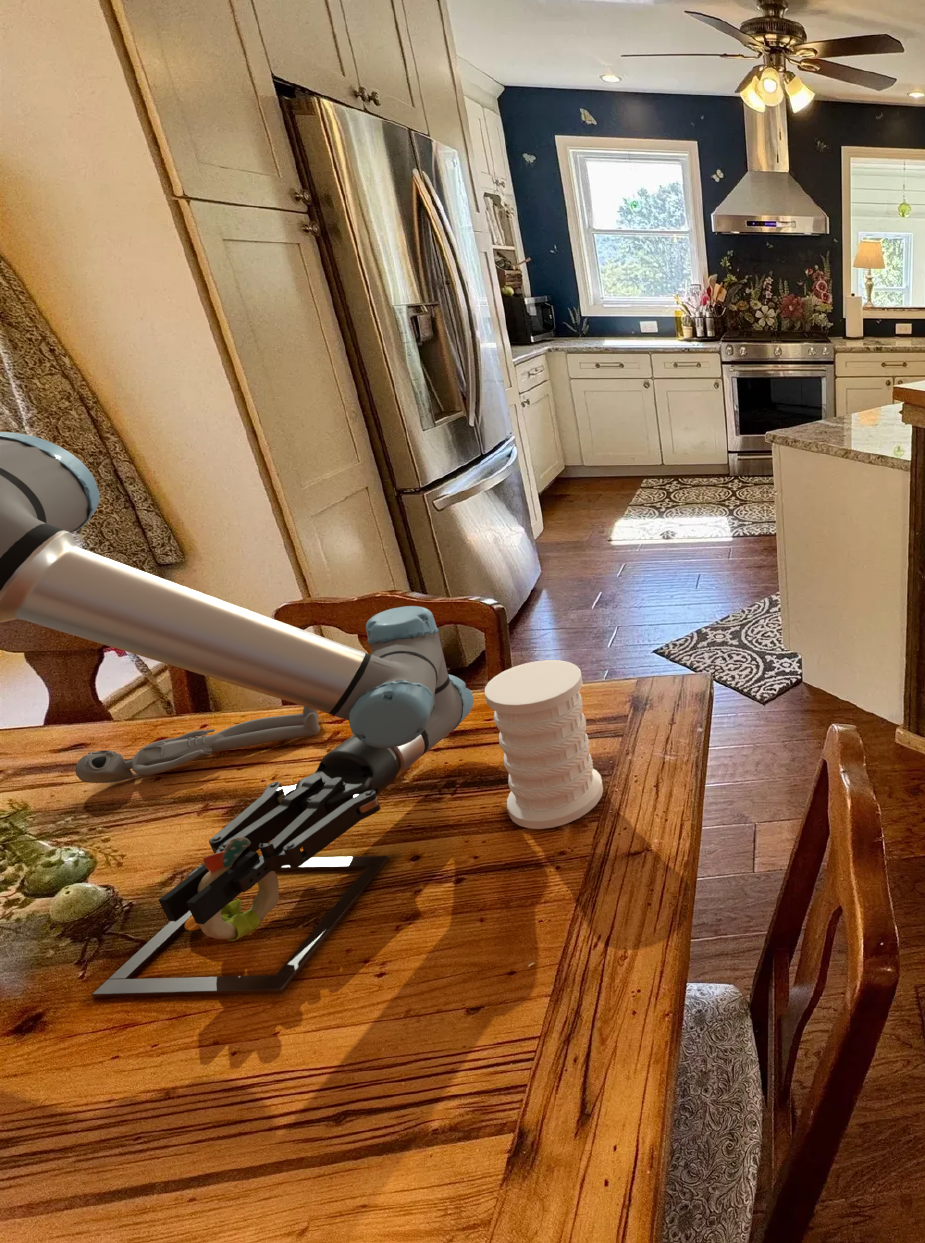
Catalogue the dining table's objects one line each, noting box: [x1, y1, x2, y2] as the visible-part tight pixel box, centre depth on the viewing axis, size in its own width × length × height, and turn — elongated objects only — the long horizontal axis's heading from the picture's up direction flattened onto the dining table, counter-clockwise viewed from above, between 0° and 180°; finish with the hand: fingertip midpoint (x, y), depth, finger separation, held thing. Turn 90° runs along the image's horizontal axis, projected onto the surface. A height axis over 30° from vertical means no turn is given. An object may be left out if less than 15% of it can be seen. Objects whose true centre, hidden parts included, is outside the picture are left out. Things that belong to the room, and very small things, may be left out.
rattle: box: [184, 837, 280, 942], centre depth 72 cm, size 8×8×12 cm
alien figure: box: [74, 706, 321, 784], centre depth 100 cm, size 8×5×25 cm
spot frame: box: [91, 855, 391, 999], centre depth 75 cm, size 17×17×1 cm
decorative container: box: [484, 659, 604, 830], centre depth 91 cm, size 12×12×18 cm
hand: (181, 911), depth 67 cm, fingers closed on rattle, 2 cm apart
